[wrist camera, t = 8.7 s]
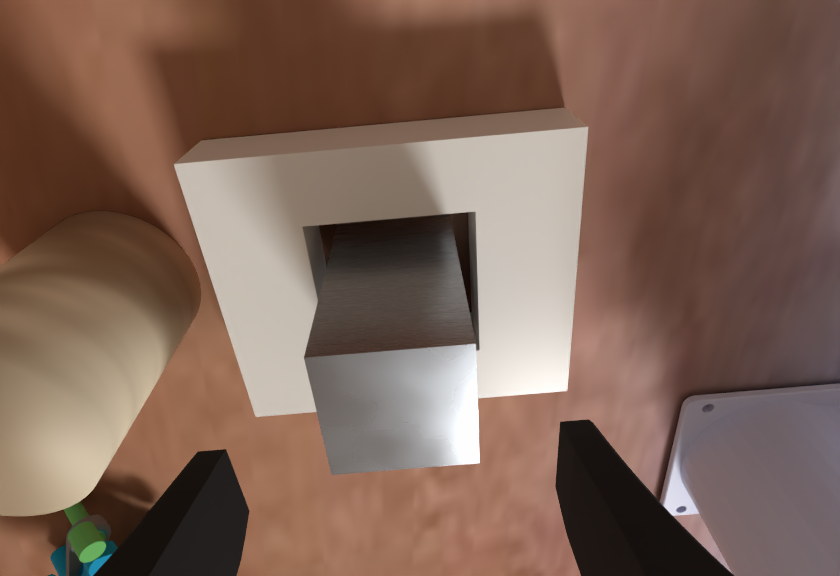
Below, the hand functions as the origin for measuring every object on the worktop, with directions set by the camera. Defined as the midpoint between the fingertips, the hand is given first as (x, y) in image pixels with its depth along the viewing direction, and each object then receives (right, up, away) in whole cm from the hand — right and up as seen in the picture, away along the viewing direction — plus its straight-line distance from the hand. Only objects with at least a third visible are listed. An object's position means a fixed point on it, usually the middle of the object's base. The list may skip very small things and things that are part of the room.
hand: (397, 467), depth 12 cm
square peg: (0, +5, +9) cm, 10 cm away
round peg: (-11, +4, +9) cm, 14 cm away
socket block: (0, +5, +8) cm, 10 cm away
